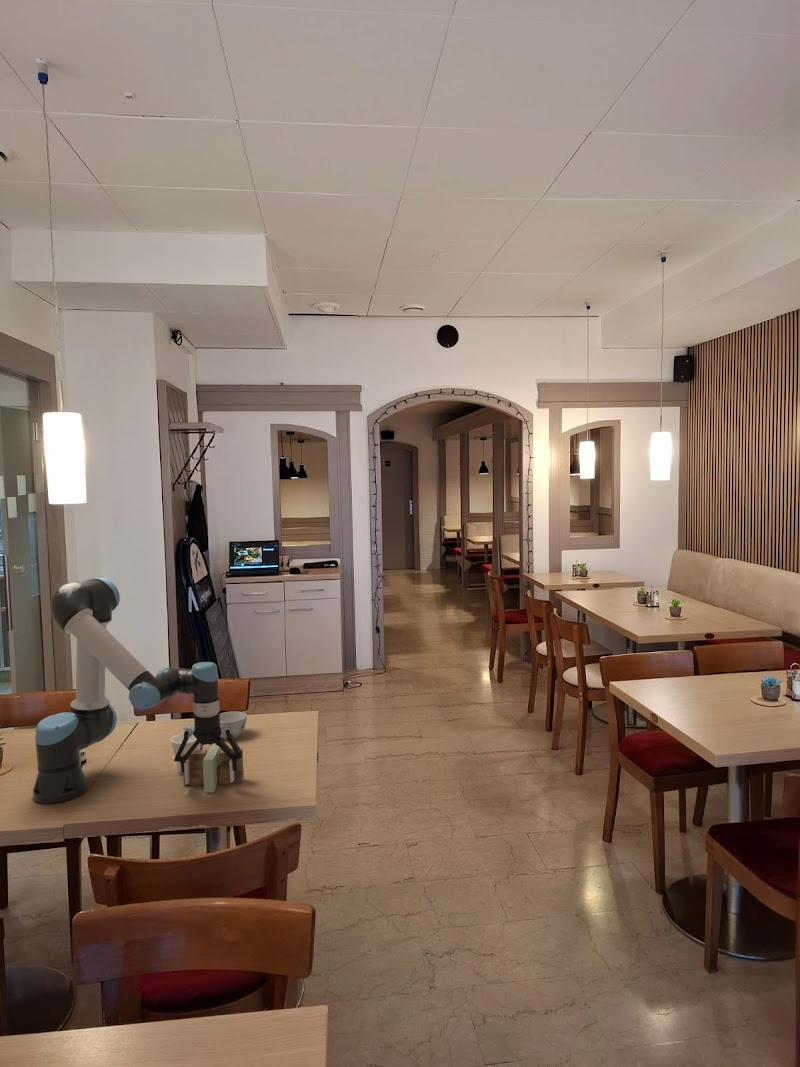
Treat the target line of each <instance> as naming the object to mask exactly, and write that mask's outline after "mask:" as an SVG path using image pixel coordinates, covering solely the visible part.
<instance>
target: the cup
mask: <svg viewBox="0 0 800 1067" xmlns="http://www.w3.org/2000/svg"><path fill="white" fill-rule="evenodd" d="M183 739H184V732H183V733H179V734H175V735H174V736H172V737H171V738H170V743H171V748H172V751H173V755H174V757H175V756H176V754H177V752H178V750H179V748H180V745H181V743H182V741H183ZM196 740H197V739H196V738H195V736H194V735H192V736H191V737H190V738H189V739H188V741H187V743H186V745H185V748H184V750H183V752H182V754H181V756H182V757H183V753H184V751H188V750H189V749H190V747H191V746H192V745H193V744H194V742H195V741H196ZM200 748H201V743H199V745H198V746H197V747H196V748H195V749H194V750H201V749H200ZM175 762H176V767H177V768H176V769H177V771H178V772H179V773H180V774H183V773H182V772H181V763H180V762H179V761H175Z"/></svg>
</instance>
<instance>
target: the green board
mask: <svg viewBox="0 0 800 1067" xmlns="http://www.w3.org/2000/svg"><path fill="white" fill-rule="evenodd" d="M220 750H221V748H220V747H219V746H217V745H216V744H215V743H214V744H213V745H210V747H209V748H208V750H207V754H206V756H205V757H204V759H203V779H204V785H203V793H215V791H216V788H217V787H218V784H217V767H218V765H219V752H220Z"/></svg>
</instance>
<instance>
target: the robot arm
mask: <svg viewBox="0 0 800 1067" xmlns="http://www.w3.org/2000/svg"><path fill="white" fill-rule="evenodd" d="M118 589H119V588H118V587H117V586H116V585H115V584H114V582H113V581H112V580H110V579H109V578H107V577H90V578H87V579H82V580H77V581H72V582H70V581H69V582H67V583H64V584H62V585H60V586H58V588H56V589H55V591H53V594H52V595H51V598H50V602H49V605H50V606H49V608H50V613H51V616H52V618H53V620H54V622H55V623H56V624H57V626H58V627H59V628H60V629H61V630H62V631H63V632H64V633H65V634H68V635H70V634H71V635H72V636H74V637H75V638H76V665H75V666H76V670H75V672H76V673H75V699H73V700H72V701H71V702H70V709H69V711H70V712H68V711H65V712H58V713H57V714H52V715H49V716H47V717H45V718H43V719H42V720H40V721H39V722H38V723H37V725H36V727H35V735H34V736H35V737H34V740H35V749H36V759H37V760H36V761H37V775H36V778H35V781H34V782H35V783H34V786H33V789H32V798H33V799H32V800H33V801H34V802H36V803H39V804H45V805H50V804H51V805H52V804H58V803H64V802H68V801H71V800H74V799H76V798H78V797H80V796H82V795H83V794H85V793H86V792H87V790H88V788H89V787H88V786H89V785H88V779H87V777H86V774H85V773H84V770H83V769H82V768H83V767H82V766H81V760H80V759H81V758H80V752H81V751H83V750H85V749H87V748H88V747H91V746H92V745H94V744H96V743H99V742H101V741H103V740H105V739H106V738H107V737H109V736H110V735H111V734H112V733H113V732H114V730H115V728H116V725H117V720H118V719H117V718H118V717H117V713H116V711H115V710H114V707H113V705H112V704H110V699H108V698H107V697H106V696H105V695H106V692H105V691H106V669H107V670H108V671H109V672H110V673H111V675H113V676H114V677H115V678H116V679H117V680H118V681H119V682H120V683H121V685H123V686H124V687H125V688H126V689H127V690H128V691H129V693H128V700H129V701H130V705H132V707H133V708H135V709H136V710H139V711H140V710H141V711H144V710H145V711H146V710H147V709H150V708H154V707H156V706H157V705H159V704H161V703H163V702H165V701H167V700H169V699H171V698H172V697H174V696H176V695H177V696H178V695H179V694H183V695H192V697H193V698H192V699H193V714H194V717H193V719H194V722H193V723H194V730H191V729H190V728H186V729H185V731H184V732H183V733H184V739H183V741H182V743H181V745H180V748H179V750H178V752H177V754H176V756H175V755H174V759H173V761H174V762H176V761H179V762H180V763H181V772H182V773H181V774H183V773H185V784H188V783H189V781H190V774H189V760H186V759H187V758H188V757H189V756H190V754H191V753H192V752H193V751H194V749H195V748H196V747H197V746H198V745H199V743H200V745H202V746H206V745H210V746H211V745H213V744H214V743H215V744H216V745H217V746H219V747H220V748H221V749H222V750H223V751H224V752H225V753H226V755H227V756H228V757H229V758H230V761H229V765H230V782H233V781H234V771H236V769H237V759H241V757H242V755H243V756H244V753H242V751H241V747H240V746H239V744H238V742H237V741H236V738H235V739H234V737H233V735H232V732H231V728H230V727H228V728H227V729H221V727H220V714H221V713H220V699H219V698H220V697H219V671H218V666H217V664H216V663H214V662H213V661H212V662H211V661H201V662H196V663H194V664H193V665H192V667H191V668H180V667H173V666H172V667H162V668H161V669H159V670H158V672H157V673H156V675H155V676H154V674H152V673H151V672H150V670H148V669H147V667H145V666H144V665H143V664H142V663H141V662H140V661H139V660H138V659H137V658H136V657H135V656H134V655H133V654H132V653H131V652H130V651H129V650H128V649H127V648H126V647H125V646H124V645H123V644H122V643H121V642H120V641H119V640H118V639H117V638H116V637H114V635H112V633H111V632H109V631H108V629H107V625H109V623H111V621H112V619H113V618H112V613H113V611H115V609H116V608H117V607H118V606H119V604H120V601H121V598H120V597H121V595H120V592H119V590H118ZM221 734H224V736H226V737H227V740H226V741H227V742H228V743H229V744H230V746H229V745H228V744H227V743H226V742H225V741H224V739H223V738H222V737H221V736H220V735H221ZM192 735H194V736H195V738H196V739H197V740H196V741H195V742H194V744H193V745H192V746H191V747H190V749H189V750H188V751H187V752H186V754H185V755H184V756H183V757H182V756H181V754H182V752H183V750H184V748H185V745H186V743H187V741H188V739H189V738H190V737H191V736H192ZM231 749H233V750H234V752H235V753H234V752H233V751H232V750H231Z"/></svg>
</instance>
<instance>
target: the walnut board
mask: <svg viewBox="0 0 800 1067" xmlns="http://www.w3.org/2000/svg"><path fill="white" fill-rule="evenodd" d="M240 749H241V751H242V753H243V752H244V751H243V748H241V747H240ZM231 750H232V751H233V752H234V750H233V749H232V748H231ZM186 752H187V751H184V753H183V756H184V755H185V754H186ZM207 752H208V750H207V749H200V750H194V751H193V752H192V753H191V754H190V756H189V757H188V758H187V759H186V760H189V774H190V781H189V783H188V784H185V773H182V775H183V786H204V779H203V759H204V757H205V756H206V754H207ZM234 753H235V752H234ZM229 761H230V758H229V757H228V756H227V755H226V753H225V752H224V751H223V750H222V749H221V750H220V752H219V765H218V767H217V785H225V784H227V785H228V784H229V785H230V784H243V782H244V779H245V777H244V775H245V774H244V773H245V772H244V753H243V755H242V757H241V759H237V769H236V771H234V781H233V782H230V765H229Z"/></svg>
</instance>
